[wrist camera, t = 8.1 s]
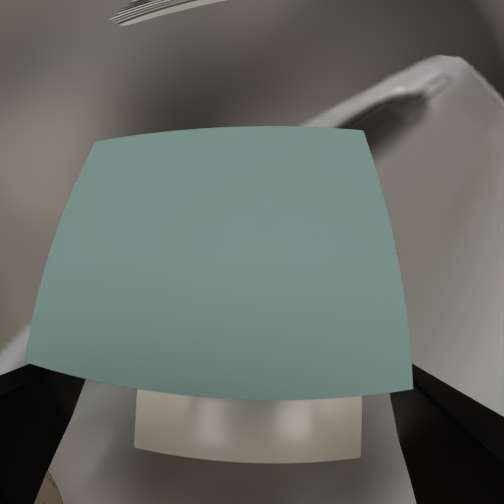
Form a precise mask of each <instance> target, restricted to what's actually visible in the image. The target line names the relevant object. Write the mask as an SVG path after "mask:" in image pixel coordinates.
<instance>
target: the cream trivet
mask: <svg viewBox="0 0 504 504" xmlns="http://www.w3.org/2000/svg"><path fill="white" fill-rule="evenodd" d="M361 434H362V396H356V397H344V398H331V399H311V400H242V399H222V398H208V397H196V396H186V395H177V394H169V393H161V392H154V391H147V390H140V389H137V402H136V417H135V438H134V448H139V449H143V450H148V451H153V452H158V453H164V454H169V455H176V456H182V457H189V458H197V459H205V460H215V461H226V462H242V463H310V462H325V461H336V460H346V459H354V458H361Z"/></svg>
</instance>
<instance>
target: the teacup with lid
mask: <svg viewBox="0 0 504 504" xmlns="http://www.w3.org/2000/svg"><path fill="white" fill-rule="evenodd" d="M34 504H63V502H62V498H61V495H60V493H59V490H58V488H57V486H56V484H55V482H54V480H53V479H52V477H51V475H50V473H49V472H48V471H47V473H46V476H45V478H44V480H43V483H42V485H41V488H40V490H39V493H38V495H37V498H36V501H35V503H34Z"/></svg>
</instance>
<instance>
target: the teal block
mask: <svg viewBox="0 0 504 504" xmlns="http://www.w3.org/2000/svg"><path fill="white" fill-rule="evenodd" d="M25 362H27V363H30V364H33V365H36V366H40V367H43V368H46V369H50V370H53V371H57V372H61V373H64V374H68V375H72V376H76V377H80V378H84V379H89V380H93V381H98V382H102V383H107V384H112V385H118V386H123V387H129V388H134V389H140V390H147V391H154V392H161V393H169V394H177V395H186V396H196V397H208V398H222V399H242V400H311V399H331V398H344V397H356V396H366V395H375V394H383V393H391V392H398V391H404V390H411V389H413V376H412V361H411V348H410V338H409V328H408V320H407V312H406V305H405V298H404V291H403V285H402V279H401V273H400V268H399V262H398V257H397V252H396V247H395V242H394V238H393V233H392V229H391V224H390V220H389V216H388V212H387V208H386V204H385V200H384V197H383V193H382V189H381V186H380V182H379V179H378V175H377V172H376V168H375V165H374V162H373V159H372V156H371V153H370V149H369V146H368V143H367V140H366V137H365V135H364V132H363V131H361V130H350V129H336V128H318V127H287V126H286V127H285V126H284V127H283V126H254V127H223V128H205V129H191V130H179V131H168V132H159V133H151V134H142V135H135V136H128V137H122V138H115V139H109V140H103V141H97V142H95V144H94V146H93V148H92V150H91V152H90V154H89V156H88V158H87V160H86V162H85V164H84V166H83V169H82V171H81V173H80V175H79V177H78V179H77V182H76V184H75V186H74V189H73V191H72V193H71V196H70V198H69V201H68V203H67V205H66V208H65V211H64V214H63V216H62V218H61V221H60V224H59V227H58V229H57V232H56V235H55V238H54V241H53V244H52V247H51V250H50V253H49V256H48V260H47V263H46V266H45V270H44V273H43V277H42V281H41V284H40V288H39V292H38V296H37V300H36V304H35V309H34V314H33V318H32V323H31V328H30V334H29V339H28V345H27V352H26V358H25Z"/></svg>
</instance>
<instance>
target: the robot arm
mask: <svg viewBox="0 0 504 504" xmlns="http://www.w3.org/2000/svg"><path fill="white" fill-rule="evenodd" d="M412 376H413V389H411V390H404V391H398V392H391V393H390V398H391V403H392V408H393V412H394V418H395V423H396V428H397V433H398V438H399V442H400V446H401V449H402V452H403V456H404V459H405V463H406V466H407V469H408V473H409V477H410V480H411V484H412V488H413V491H414V495H415V499H416V503H417V504H504V417H503V416H501V415H500V414H498V413H496V412H494V411H493V410H491V409H489V408H487V407H486V406H484V405H482V404H480V403H479V402H477V401H475V400H473V399H472V398H470V397H468V396H467V395H465V394H463V393H461V392H460V391H458V390H456V389H455V388H453V387H451V386H449V385H448V384H446V383H444V382H443V381H441V380H439V379H437V378H436V377H434V376H432V375H431V374H429V373H427V372H425V371H424V370H422V369H420V368H419V367H417V366H415V365H414V364H412ZM84 383H85V379H84V378H80V377H76V376H72V375H68V374H64V373H61V372H57V371H53V370H50V369H46V368H43V367H40V366H36V365H33V364H28V365H26V366H23V367H20V368H18V369H15V370H13V371H10V372H8V373H5V374H2V375H0V504H34V503H35V501H36V498H37V495H38V493H39V490H40V488H41V485H42V483H43V480H44V478H45V476H46V473H47V471H48V468H49V466H50V464H51V461H52V459H53V457H54V455H55V452H56V450H57V448H58V446H59V444H60V441H61V439H62V437H63V435H64V433H65V431H66V429H67V427H68V424H69V422H70V420H71V417H72V415H73V412H74V409H75V407H76V404H77V401H78V399H79V396H80V393H81V391H82V388H83V385H84Z"/></svg>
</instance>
